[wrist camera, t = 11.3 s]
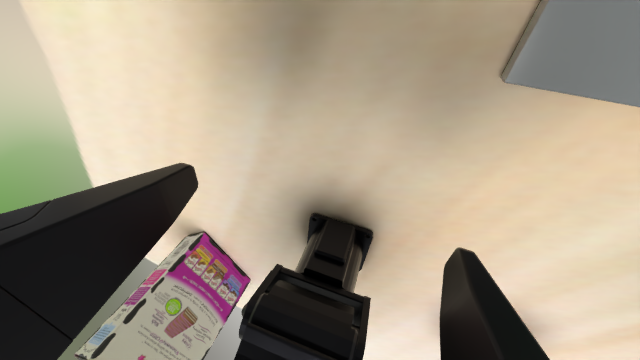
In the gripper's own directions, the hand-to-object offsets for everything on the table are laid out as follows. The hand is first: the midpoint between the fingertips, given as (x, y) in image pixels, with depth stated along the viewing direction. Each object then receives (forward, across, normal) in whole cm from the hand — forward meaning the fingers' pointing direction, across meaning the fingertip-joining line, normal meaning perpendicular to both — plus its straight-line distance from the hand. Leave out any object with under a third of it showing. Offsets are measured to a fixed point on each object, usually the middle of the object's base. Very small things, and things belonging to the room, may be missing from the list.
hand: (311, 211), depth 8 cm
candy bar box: (+12, +17, +29) cm, 36 cm away
